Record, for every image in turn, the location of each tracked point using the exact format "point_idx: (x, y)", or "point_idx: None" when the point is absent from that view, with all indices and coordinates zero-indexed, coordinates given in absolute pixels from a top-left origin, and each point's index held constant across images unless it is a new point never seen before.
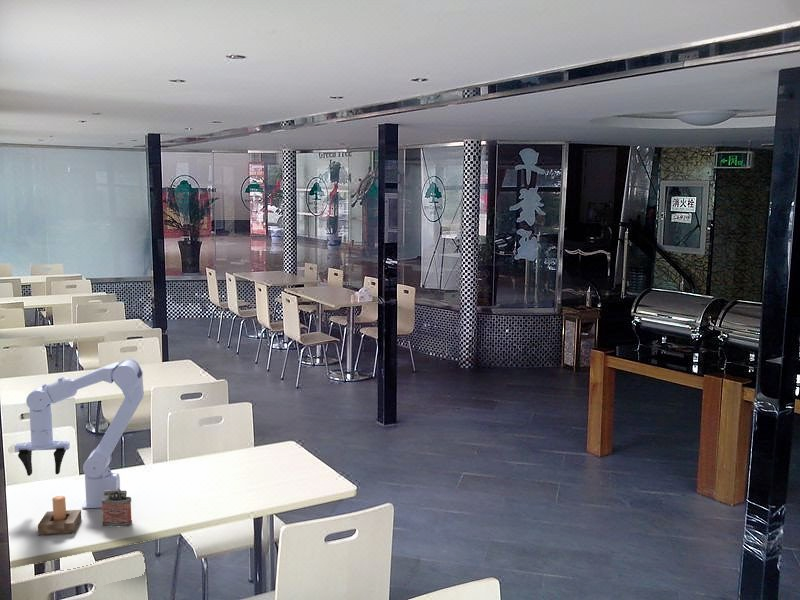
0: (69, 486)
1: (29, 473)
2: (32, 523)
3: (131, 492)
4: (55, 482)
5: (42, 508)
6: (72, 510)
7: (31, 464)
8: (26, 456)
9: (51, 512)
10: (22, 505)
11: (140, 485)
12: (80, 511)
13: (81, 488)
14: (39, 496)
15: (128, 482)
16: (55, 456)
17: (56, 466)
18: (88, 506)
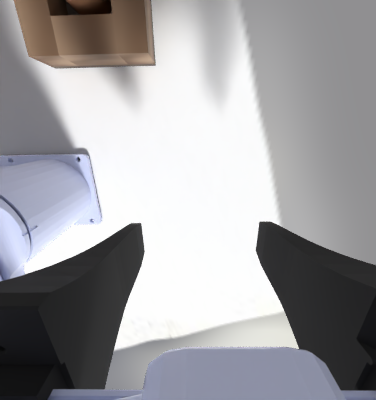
0: (174, 291)
1: (265, 224)
2: (198, 58)
3: None
4: (210, 312)
5: (199, 174)
6: (56, 51)
7: (274, 286)
8: (365, 286)
9: (128, 39)
10: (256, 200)
11: None
12: (29, 48)
13: (143, 278)
14: (226, 248)
15: None
16: (63, 280)
17: (116, 240)
18: (70, 157)
